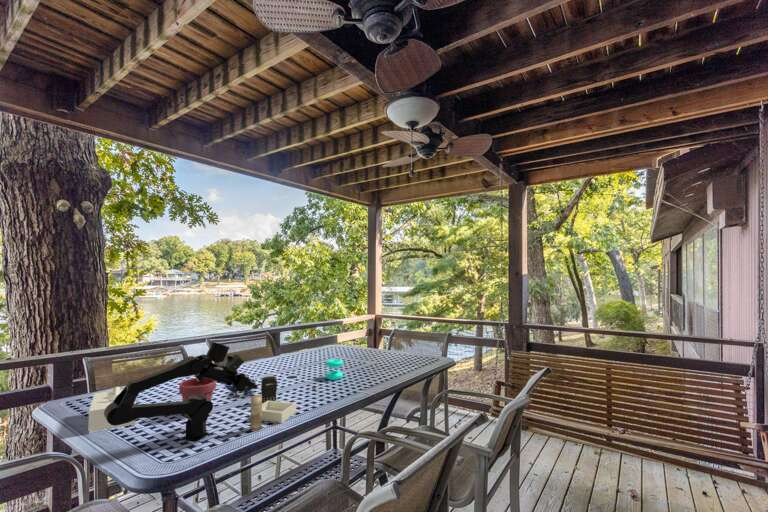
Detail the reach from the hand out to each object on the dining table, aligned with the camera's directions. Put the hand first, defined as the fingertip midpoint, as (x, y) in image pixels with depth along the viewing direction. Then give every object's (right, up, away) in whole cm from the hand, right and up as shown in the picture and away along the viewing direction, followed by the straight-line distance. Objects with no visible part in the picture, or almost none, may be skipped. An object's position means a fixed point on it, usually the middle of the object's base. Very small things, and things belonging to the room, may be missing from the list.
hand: (252, 384), depth 150 cm
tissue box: (-57, -15, +1) cm, 59 cm away
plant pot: (-27, -15, +10) cm, 33 cm away
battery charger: (0, -16, +22) cm, 27 cm away
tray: (+8, -15, +5) cm, 17 cm away
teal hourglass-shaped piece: (+25, -18, +62) cm, 69 cm away
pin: (+4, -14, -8) cm, 17 cm away
